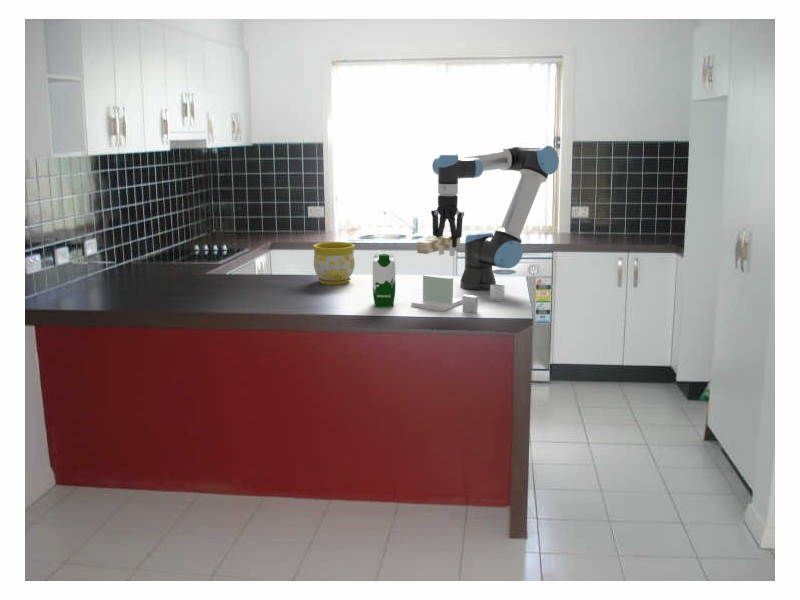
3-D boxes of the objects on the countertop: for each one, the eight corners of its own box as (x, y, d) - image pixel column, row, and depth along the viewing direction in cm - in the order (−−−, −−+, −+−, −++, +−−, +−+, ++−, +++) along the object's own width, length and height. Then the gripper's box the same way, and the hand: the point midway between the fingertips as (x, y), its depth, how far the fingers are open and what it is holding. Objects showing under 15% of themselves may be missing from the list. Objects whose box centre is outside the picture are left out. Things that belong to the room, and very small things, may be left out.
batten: (450, 243, 328) (451, 233, 327) (459, 244, 325) (460, 234, 325) (417, 252, 306) (417, 242, 305) (426, 253, 304) (426, 243, 303)
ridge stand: (432, 298, 331) (432, 271, 329) (463, 302, 324) (463, 275, 321) (411, 306, 318) (411, 278, 316) (443, 311, 311) (443, 282, 308)
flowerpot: (310, 279, 367) (309, 242, 364) (349, 277, 373) (349, 241, 369) (318, 287, 351) (317, 249, 347) (359, 285, 356) (359, 247, 352)
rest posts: (492, 298, 331) (493, 284, 330) (504, 300, 328) (504, 285, 327) (462, 311, 310) (462, 295, 309) (474, 313, 307) (474, 297, 306)
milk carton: (372, 307, 315) (372, 256, 311) (372, 302, 324) (372, 252, 320) (395, 307, 316) (395, 256, 311) (395, 302, 325) (395, 252, 320)
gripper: (423, 194, 318) (422, 254, 323) (463, 196, 309) (461, 258, 314) (433, 192, 324) (432, 251, 329) (472, 195, 315) (470, 255, 320)
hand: (446, 254), depth 322 cm, fingers closed on batten, 4 cm apart
